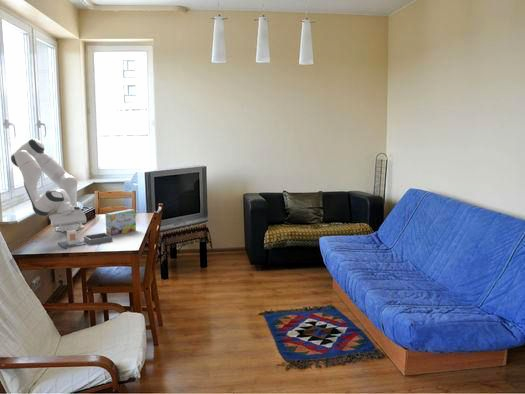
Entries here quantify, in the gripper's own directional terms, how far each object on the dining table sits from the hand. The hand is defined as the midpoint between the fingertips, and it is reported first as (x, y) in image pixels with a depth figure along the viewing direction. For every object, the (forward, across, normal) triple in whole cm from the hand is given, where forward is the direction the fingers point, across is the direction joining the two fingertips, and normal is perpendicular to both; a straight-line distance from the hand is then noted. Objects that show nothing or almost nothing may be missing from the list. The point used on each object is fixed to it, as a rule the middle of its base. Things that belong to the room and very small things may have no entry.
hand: (71, 230), depth 276 cm
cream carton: (+7, -1, +5) cm, 8 cm away
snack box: (0, +34, +14) cm, 37 cm away
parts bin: (+9, +14, +4) cm, 17 cm away
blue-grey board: (+7, -1, +6) cm, 9 cm away
